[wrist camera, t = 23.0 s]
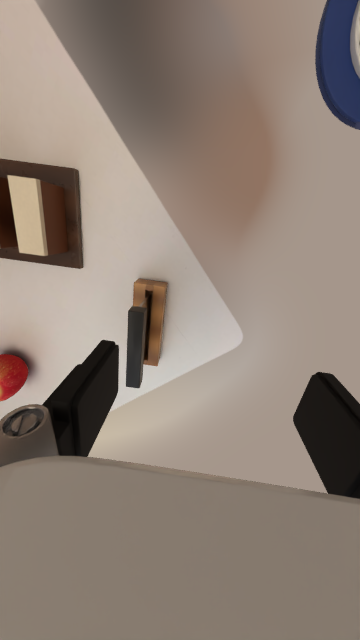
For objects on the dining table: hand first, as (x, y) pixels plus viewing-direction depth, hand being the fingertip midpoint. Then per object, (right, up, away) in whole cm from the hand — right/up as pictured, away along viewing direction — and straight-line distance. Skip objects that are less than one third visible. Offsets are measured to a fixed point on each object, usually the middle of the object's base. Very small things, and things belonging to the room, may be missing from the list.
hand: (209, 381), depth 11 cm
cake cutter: (-7, +3, +29) cm, 30 cm away
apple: (-35, -6, +35) cm, 50 cm away
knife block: (-7, +3, +29) cm, 30 cm away
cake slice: (-21, +18, +23) cm, 36 cm away
